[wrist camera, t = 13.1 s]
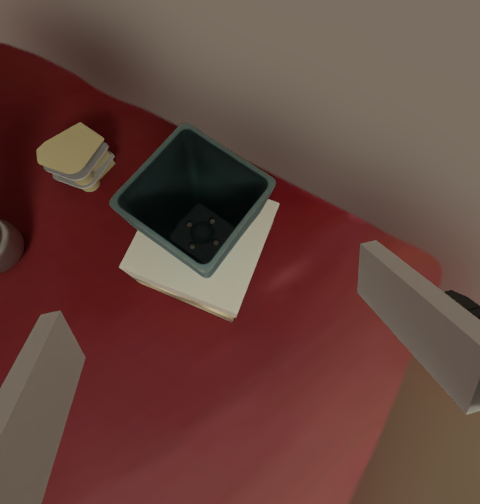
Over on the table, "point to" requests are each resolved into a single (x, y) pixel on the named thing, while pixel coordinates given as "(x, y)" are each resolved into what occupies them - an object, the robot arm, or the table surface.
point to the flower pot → (194, 198)
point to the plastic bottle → (9, 245)
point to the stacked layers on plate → (76, 157)
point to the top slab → (191, 283)
